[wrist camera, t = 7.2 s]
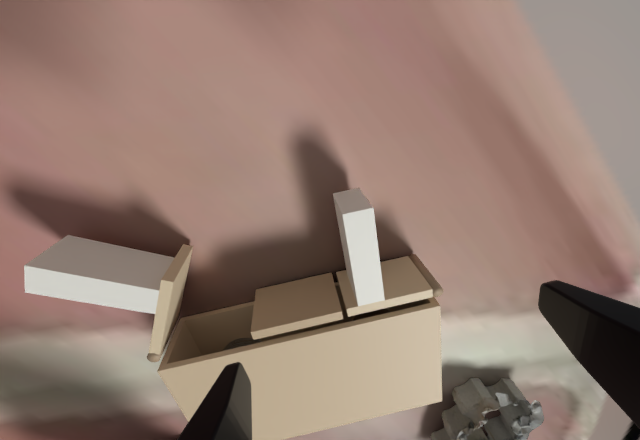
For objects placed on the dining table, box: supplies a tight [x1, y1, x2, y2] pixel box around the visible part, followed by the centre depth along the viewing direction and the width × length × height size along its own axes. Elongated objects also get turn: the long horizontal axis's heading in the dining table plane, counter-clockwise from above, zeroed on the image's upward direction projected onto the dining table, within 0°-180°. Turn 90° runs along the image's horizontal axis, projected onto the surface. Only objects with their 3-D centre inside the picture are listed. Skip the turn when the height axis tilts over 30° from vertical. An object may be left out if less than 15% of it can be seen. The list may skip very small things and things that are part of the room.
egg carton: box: [431, 378, 544, 440], centre depth 29 cm, size 11×8×4 cm
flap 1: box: [24, 235, 193, 362], centre depth 18 cm, size 6×7×4 cm
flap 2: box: [333, 188, 443, 317], centre depth 18 cm, size 6×7×4 cm
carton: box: [157, 272, 442, 440], centre depth 21 cm, size 17×10×4 cm, turn 101°
